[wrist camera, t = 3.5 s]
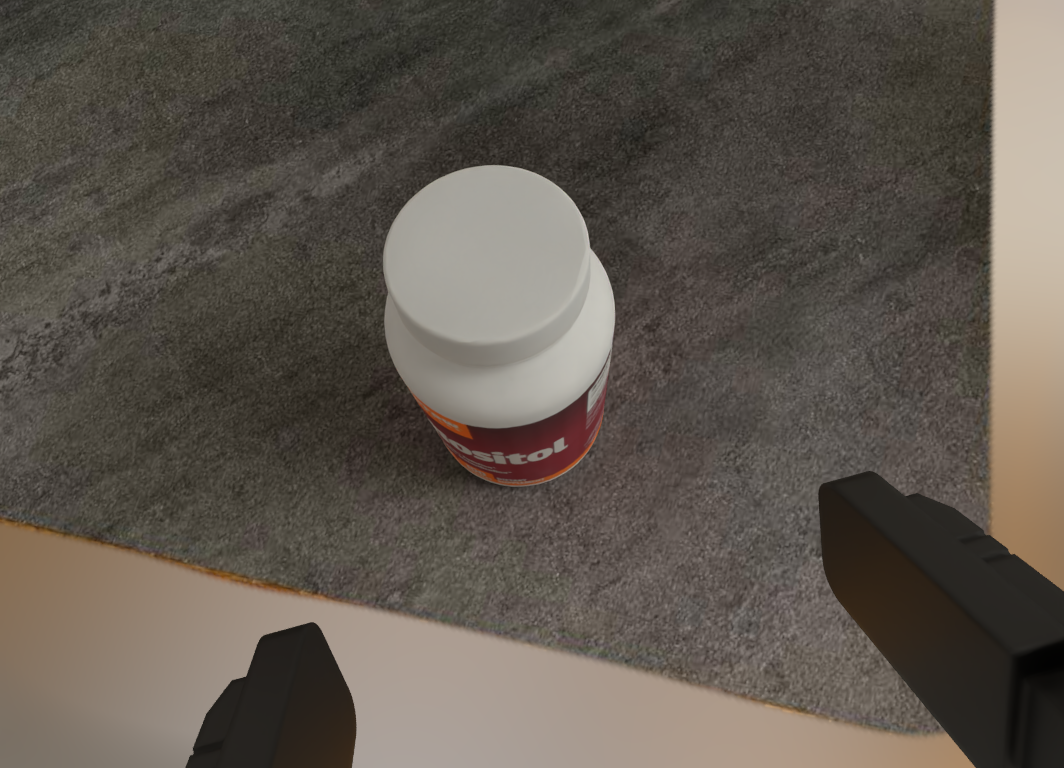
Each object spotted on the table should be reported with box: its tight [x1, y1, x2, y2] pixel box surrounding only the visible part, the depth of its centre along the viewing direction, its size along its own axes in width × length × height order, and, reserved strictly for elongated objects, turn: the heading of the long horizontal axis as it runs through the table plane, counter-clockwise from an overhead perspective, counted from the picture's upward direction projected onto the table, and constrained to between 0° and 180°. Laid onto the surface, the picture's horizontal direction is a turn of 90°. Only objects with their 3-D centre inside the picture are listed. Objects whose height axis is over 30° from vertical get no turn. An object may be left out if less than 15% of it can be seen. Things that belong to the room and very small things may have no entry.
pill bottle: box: [383, 165, 615, 487], centre depth 20 cm, size 6×6×11 cm
